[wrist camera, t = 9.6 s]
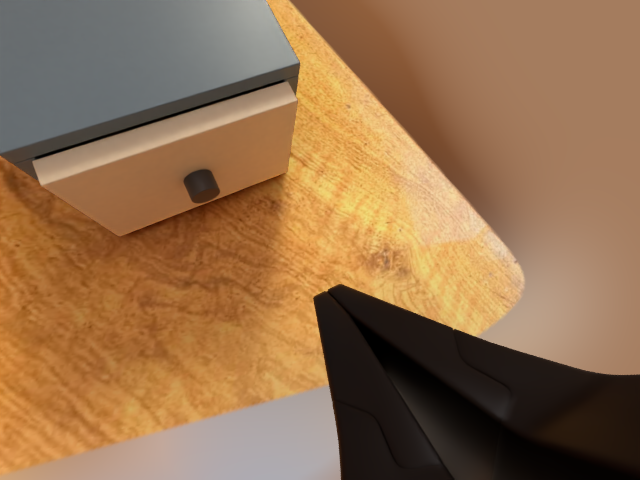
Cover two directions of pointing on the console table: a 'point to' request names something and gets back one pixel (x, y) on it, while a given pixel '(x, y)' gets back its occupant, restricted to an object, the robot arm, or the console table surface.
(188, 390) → the console table surface
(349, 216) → the console table surface
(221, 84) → the cabinet
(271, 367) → the console table surface
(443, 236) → the console table surface
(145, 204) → the drawer
